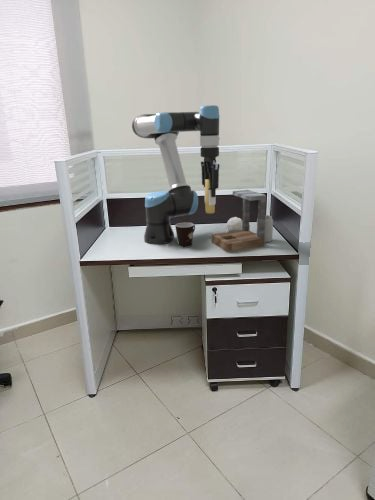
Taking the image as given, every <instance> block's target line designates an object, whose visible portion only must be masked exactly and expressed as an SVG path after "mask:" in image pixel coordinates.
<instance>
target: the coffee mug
mask: <svg viewBox="0 0 375 500" xmlns="http://www.w3.org/2000/svg"><path fill="white" fill-rule="evenodd" d="M174 226H175V232H176V238H177V244H178V247H180V248H190V247H192V246H193V239H194V238H193V237H194V232H195V230H196V225H195V224H194V223H192V222H185V221H184V222H178V223H176V224H175V225H174Z"/></svg>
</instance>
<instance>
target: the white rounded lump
mask: <svg viewBox="0 0 375 500" xmlns="http://www.w3.org/2000/svg"><path fill="white" fill-rule="evenodd" d="M242 221H243V219H242V218H240V217H237V216H234V217H233V216H232V217H230V218H229V219H228V220H227V222H226V229H227V232H231V231H237V230H242ZM249 231H251V225H250V224H249Z"/></svg>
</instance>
